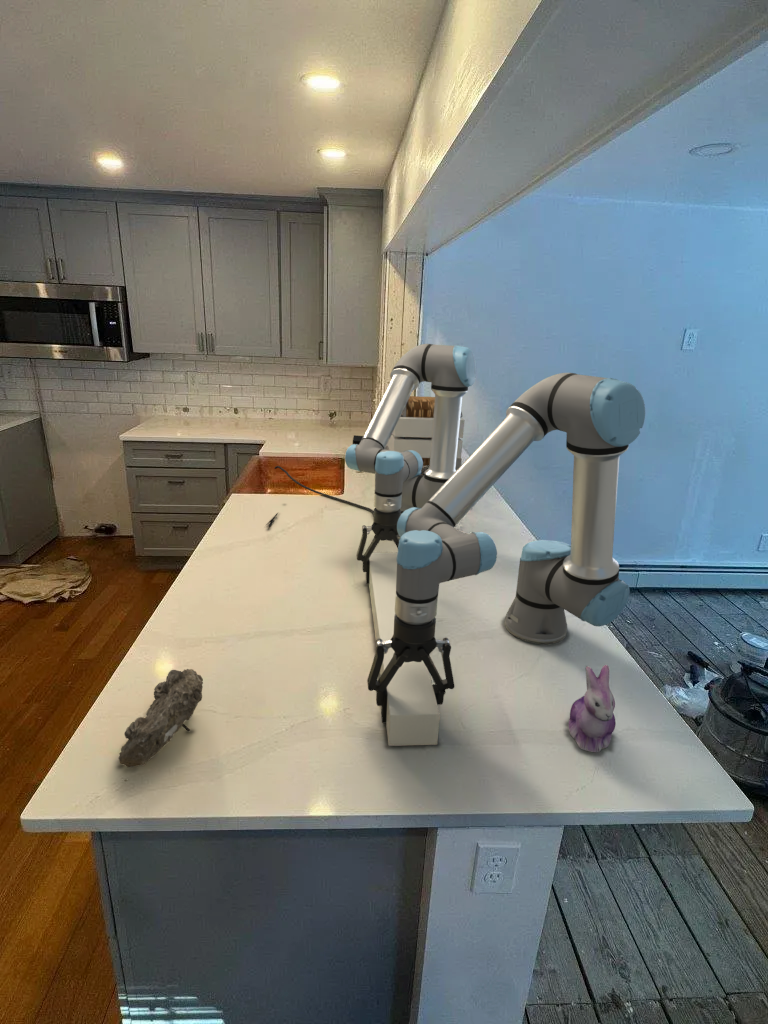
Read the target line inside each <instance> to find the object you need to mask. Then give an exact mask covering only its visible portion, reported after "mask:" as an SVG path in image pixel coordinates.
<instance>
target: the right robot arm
mask: <svg viewBox="0 0 768 1024" xmlns="http://www.w3.org/2000/svg"><path fill="white" fill-rule="evenodd" d="M505 415H506V417H505V418H504V419H503V420H502V421H501V422H500V423H499V424H498V425H497V426H496V428H495V429H493V430H492V432H491V433H489V435H488V436H487V437H486V438H485V439H484V440H483V441H482V442H481V443H480V445H479V446H478V447H477V448H476V449H475V450H474V451H473V452H472V453H471V454H470V455H469V456H468V458H467V459H465V460H464V462H463V463H461V466H460V467H459V468H458V470H457V471H456V472H455V473H454V474H453V475H452V476H451V477H450V478H449V479H448V480H447V481H446V482H445V483H444V485H443V486H442V487H441V488H440V489H439V490H438V491H437V492H436V493H435V494H434V495H433V496H432V497H431V498H430V500H429V501H428V502H427V503H426V504H425V505H424V506H423V507H422V508H416V507H412V508H410V509H408V510H405V511H404V512H403V513H402V514H401V516H400V517H399V519H398V522H397V532H398V534H399V536H400V540H399V546H398V548H397V552H398V554H397V577H396V597H395V616H394V634H393V637H392V638H391V640H388V641H382V639H377V640H376V639H375V644H376V650H375V654H374V656H373V660H372V663H371V667H370V670H369V673H368V677H367V680H366V683H367V690H368V691H369V692H372V691H375V693H376V694H375V695H376V697H375V700H376V705H377V707H381V708H380V709H381V711H380V714H381V723H384V724H386V715H387V695H388V693H387V686H388V684H389V683H390V681H391V680H392V678H393V677H394V675H395V673H396V672H397V670H398V669H399V667H401V666H402V665H403V663H404V662H412V661H415V662H421V661H422V660H423V662H424V664H425V666H426V667H427V669H428V671H429V674H430V678H431V680H432V681H433V683H434V684H433V683H432V685H433V689H434V693H435V697H436V701H437V705H438V706H439V705H443V703H444V697H445V695H446V691H447V690H448V689H449V690H454V688H455V686H456V685H455V681H454V675H453V669H452V663H451V658H450V655H451V650H452V646H451V643H450V642H451V641H450V640H449V638H448V637H443V638H442V639H437V638H436V637H435V636H436V623H437V618H436V616H437V610H438V597H439V589H440V584H442V583H445V582H450V581H454V580H458V579H463V578H467V577H471V576H478V575H479V574H481V573H485V572H487V571H490V570H491V569H492V568H494V566H495V565H496V562H497V559H498V548H497V546H496V543H495V541H494V539H493V538H492V536H491V535H489V534H488V533H486V532H483V531H472V532H470V533H465V532H463V530H462V531H461V530H460V529H459V528H456V526H457V525H458V524H459V522H461V521H462V520H463V519H464V517H465V516H467V514H468V513H469V512H470V511H471V510H472V509H473V507H474V506H475V505H476V504H477V503H478V502H479V501H480V500H481V499H482V498H483V497H484V496H485V494H487V492H488V491H489V490H490V489H491V488H492V487H493V486H494V485H495V484H496V483H497V482H498V480H499V479H500V478H501V477H502V476H503V475H504V474H505V473H506V472H507V471H508V469H510V467H512V466H513V464H514V463H515V462H516V461H517V460H518V459H519V458H520V456H522V454H523V453H525V451H526V450H527V449H528V448H529V447H530V446H531V444H532V443H533V442H539V441H542V440H543V439H544V438H545V437H546V436H547V434H549V433H551V432H553V431H560V432H564V433H566V437H565V438H566V442H565V443H566V444H565V446H566V450H567V451H568V452H569V453H571V455H573V471H572V473H573V474H572V500H571V501H572V502H571V530H570V544H568V543H566V542H563V541H559V540H550V539H540V540H533V541H529V542H527V543H525V545H523V547H522V549H521V554H520V557H519V564H518V565H519V566H518V575H517V583H516V591H515V597H514V598H513V600H512V602H511V604H510V606H509V607H508V610H507V612H506V613H505V618H504V627H505V629H506V631H508V633H510V634H511V635H512V636H514V637H515V638H517V639H520V640H522V641H525V642H528V643H530V644H531V643H532V644H537V645H553V644H557V643H560V642H561V641H563V640H564V639H565V638H566V637H567V634H568V633H567V632H568V622H567V618H566V617H567V616H566V613H565V611H566V612H568V613H569V614H571V615H573V616H574V617H576V618H578V619H579V620H580V621H581V622H586V623H588V624H589V625H591V626H594V627H604V626H606V625H608V624H610V623H612V622H613V621H614V620H615V619H616V618H618V616H620V614H621V613H622V611H623V610H624V608H625V607H626V605H627V603H628V600H629V597H630V594H631V590H630V586H629V584H628V583H626V581H625V580H622V579H620V565H619V562H618V561H617V559H616V558H614V557H613V553H614V541H615V529H616V527H615V526H616V514H617V513H616V512H617V497H618V483H619V470H620V457H621V456H622V455H624V454H625V452H627V451H628V450H629V447H630V446H629V445H630V444H632V443H634V441H636V440H637V439H638V437H639V436H640V434H641V431H640V429H642V428H643V427H644V424H645V421H646V420H645V419H646V404H645V400H644V397H643V395H642V393H641V392H640V390H639V389H638V388H637V387H636V386H635V385H633V384H632V383H630V382H627V381H624V380H623V381H622V380H619V379H617V378H613V377H602V376H593V375H587V374H580V373H579V374H578V373H575V372H560V373H556V374H553V375H549V376H547V377H546V378H543V379H541V380H540V381H539V382H537V383H536V384H534V385H532V386H531V387H530V388H529V389H527V390H525V391H524V392H523V393H522V394H521V395H520V396H518V397H517V399H516V400H514V401H513V402H512V403H511V404H510V406H508V408H507V409H506V410H505ZM389 648H392V649H393V650H394V651H395V652H394V654H393V657H392V659H391V661H390V662H389V664H388V665H387V667H386V668H385V670H384V672H383V673H382V675H381V676H380V669H381V666H382V663H383V660H384V654H386V653H387V652H388V649H389ZM436 648H437V649H438V652H439V653H440V654H441V660H442V665H443V670H444V671H443V672H444V676H445V678H444V679H442V677H441V675H440V673H439V670H438V669H437V667H436V665H435V663H434V661H433V659H432V657H431V653H433V651H434V650H435V649H436Z"/></svg>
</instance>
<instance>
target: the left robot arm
mask: <svg viewBox="0 0 768 1024" xmlns="http://www.w3.org/2000/svg"><path fill="white" fill-rule="evenodd" d="M389 374H390V381H389V383H388V385H387V387H386V390H385V391H384V393H383V395H382V397H381V400H380V402H379V403H378V406H377V408H376V410H375V412H374V414H373V416H372V418H371V420H370V422H369V424H368V427H367V428H366V430H365V432H364V434H363V435H362V436H363V438H362V440H361V442H360V444H359V445H358V444H353V443H352V444H350V446H348V447H347V448H346V451H345V455H344V461H345V462H344V463H345V465H346V466H347V468H348V469H350V470H354V471H357V472H360V473H362V472H363V473H368V474H374V496H373V507H374V508H373V509H372V508H370V507H367V506H364V505H362V504H361V505H360V504H358V503H355V502H352V501H348V500H345V499H343V498H339V497H336V496H332V495H331V494H327V493H324V492H322V491H321V492H320V491H318V490H316V489H313V488H311V487H308V486H306V485H304V484H303V483H300V482H299V481H297V480H296V479H295V478H293V477H292V475H290V473H289V472H288V471H287V470H286V469H284V468H283V467H282V466H280V465H276V466H275V467H274V469H275V470H276V469H280V470H281V471H282V472H284V473H285V474H286V476H287V477H288V478H289V479H290V480H291V481H293V483H295V484H296V485H298V486H300V487H302V488H304V489H306V490H308V491H310V492H312V493H315V494H318V495H320V496H323V497H326V498H329V499H332V500H335V501H338V502H342V503H345V504H348V505H352V506H354V507H357V508H360V509H363V510H366V511H369V512H370V513H372V517H373V522H372V524H371V525H362V526H361V532H362V533H361V537H360V540H359V545H358V548H357V551H356V560H357V561H361V562H362V572H363V573H365V582H366V585H369V573H370V560H369V558H370V556H371V554H372V553H373V552H375V549H376V548H377V546H378V544H379V543H380V541H382V542H383V541H390V542H391V541H393V543H394V544H395V546H396V548H397V549H398V546H399V540H400V536H399V534H398V532H397V522H398V519H399V517H400V516H401V514H402V513H403V512H404V511H405V510H408V509H410V508H412V507H416V508H422V507H423V506H424V505H425V504H426V503H427V502H428V501H429V500H430V498H431V497H432V496H433V495H434V494H435V493H436V492H437V491H438V490H439V489H440V488H441V487H442V486H443V485H444V483H445V482H446V481H447V480H448V479H449V478H450V477H451V476H452V475H453V474H454V473H455V472H456V469H455V468H456V458H457V447H458V437H459V426H460V416H461V412H462V405H463V398H464V395H466V394H467V393H468V391H469V387H472V386H474V384H475V382H476V377H477V362H476V356H475V354H474V351H473V350H472V349H471V348H470V347H467V346H461V345H451V344H450V345H449V344H436V343H435V344H432V343H421V344H418V345H415V346H413V347H412V348H411V349H409V350H408V351H407V352H405V353H404V354H403V355H402V356H401V357H400V358H399V359H398V361H396V363H395V364H394V366H393V368H392V370H391V372H390V373H389ZM425 382H426V383H430V390H431V391H432V392H433V394H434V397H435V404H434V417H433V429H432V442H431V454H430V466H428V468H427V469H426V470H424V474H422V470H423V467H424V466H423V460H422V458H421V456H420V454H419V453H417V452H416V451H413V450H409V451H404V452H398V451H391V450H385V448H386V446H387V443H388V441H389V439H390V437H391V435H392V433H393V431H394V429H395V427H396V425H397V422H398V420H399V418H400V416H401V414H402V412H403V410H404V408H405V406H406V403H407V401H408V399H409V397H410V396H411V395H412V393H413V391H415V390H417V389H418V387H419V386H420V384H421V383H425ZM371 532H373V534H374V536H373V538H372V541H370V544H369V545H368V548H367V549H366V550H365V546H366V543H367V540H368V535H370V533H371ZM364 551H365V552H364Z"/></svg>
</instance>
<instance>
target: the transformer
mask: <svg viewBox="0 0 768 1024" xmlns="http://www.w3.org/2000/svg"><path fill="white" fill-rule="evenodd" d="M434 404H435V396H415V395H414V396H413V395H412V396H411V395H410V397H409V399H408V401H407V403H406V406H405V408H404V410H403V412H402V414H401V416H400V418H399V420H398V422H397V425H396V427H395V429H394V431H393V433H392V435H391V437H390V439H389V441H388V443H387V446H386V448H385V450H391V451H398V452H404V451H409V450H413V451H416V452H417V453H419V454H420V456H421V458H422V460H423V467H430V454H431V442H432V429H433V417H434ZM464 429H465V419H464V418H463V411H461V416H460V426H459V437H458V447H457V458H456V468H455V469H456V471H457V470H458V468H459V467H460V466H461V465H462V461H463V460H462V453H463V442H464V441H463V440H462V439H463V438H464V431H465V430H464Z"/></svg>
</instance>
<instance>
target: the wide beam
mask: <svg viewBox="0 0 768 1024" xmlns="http://www.w3.org/2000/svg"><path fill="white" fill-rule="evenodd" d="M397 554H398V551H373V553H372V554H371V556H370V558H369V560H370V573H369V584H368V587H369V588H368V589H369V595H370V606H371V613H372V620H373V628H374V636H375V641H376V640H377V639H382V641H388V640H391V638H392V637H393V634H394V616H395V597H396V577H397ZM394 652H395V651H394V650H393V649H392V648H389V649H388V652H387V653H386V654H384V660H383V663H382V666H381V669H380V673H379V677H380V676H381V675H382V673H383V672H384V670H385V668H386V667H387V665H388V664H389V662H390V661H391V659H392V657H393V654H394ZM387 693H388V695H387V715H386V723H385V726H386V734H387V735H386V736H387V744H388V747H393V746H394V747H398V746H399V747H400V746H402V747H403V746H432V745H433V746H434V745H438V738H439V730H440V729H439V728H440V718H441V717H440V716H441V714H440V710H439V705H437V701H436V697H435V693H434V689H433V682H432V677H431V675H430V673H429V671H428V669H427V667H426V666H425V664H424V662H423V660H422V661H421V662H415V661H412V662H404V663H403V665H402V666H401V667H399V669H398V670H397V672H396V673H395V675H394V677H393V678H392V680H391V681H390V683H389V684H388V686H387Z"/></svg>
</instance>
